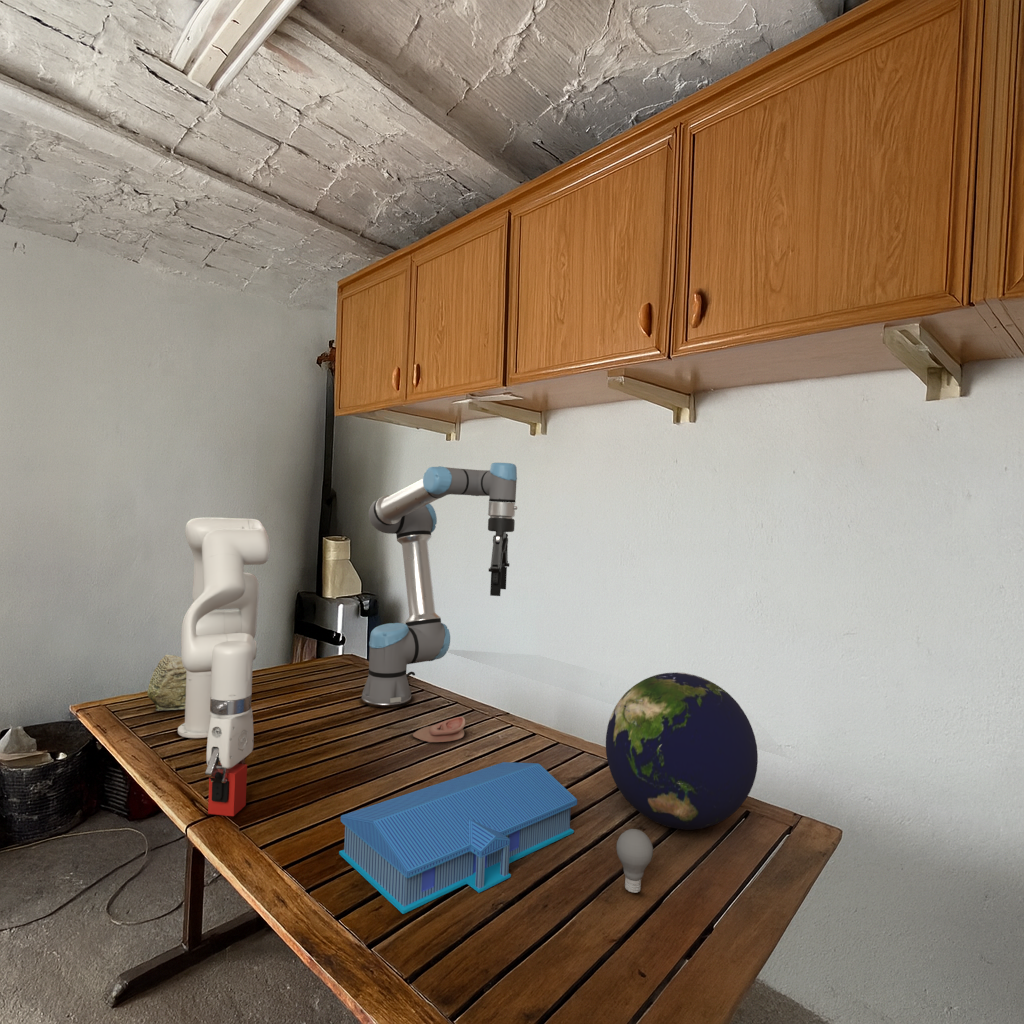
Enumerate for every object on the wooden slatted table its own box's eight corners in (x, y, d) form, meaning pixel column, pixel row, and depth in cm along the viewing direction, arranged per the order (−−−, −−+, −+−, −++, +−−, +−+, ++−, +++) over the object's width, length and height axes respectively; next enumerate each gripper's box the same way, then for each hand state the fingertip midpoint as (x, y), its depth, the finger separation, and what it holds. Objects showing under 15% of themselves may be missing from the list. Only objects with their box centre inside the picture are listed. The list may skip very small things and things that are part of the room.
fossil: (144, 707, 182) (145, 655, 182) (212, 696, 194) (213, 647, 194) (151, 716, 175) (153, 662, 175) (221, 703, 188) (223, 653, 188)
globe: (585, 837, 122) (592, 682, 121) (619, 777, 149) (625, 650, 149) (751, 879, 110) (760, 708, 110) (755, 805, 138) (762, 668, 138)
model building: (414, 925, 95) (417, 859, 95) (337, 852, 113) (340, 797, 113) (586, 839, 121) (589, 787, 121) (502, 791, 139) (504, 746, 139)
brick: (207, 813, 125) (209, 771, 125) (221, 802, 129) (222, 761, 129) (233, 816, 124) (235, 773, 124) (245, 805, 129) (247, 764, 129)
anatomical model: (408, 724, 167) (423, 710, 178) (408, 739, 167) (423, 724, 178) (457, 730, 164) (469, 716, 175) (456, 745, 164) (468, 730, 175)
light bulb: (610, 879, 108) (613, 822, 108) (644, 879, 109) (647, 822, 109) (619, 902, 102) (622, 840, 102) (655, 901, 103) (658, 840, 103)
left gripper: (225, 720, 118) (221, 817, 118) (269, 693, 134) (266, 778, 135) (187, 717, 118) (183, 813, 119) (235, 690, 135) (232, 774, 136)
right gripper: (510, 519, 166) (506, 599, 167) (518, 517, 191) (515, 587, 192) (481, 517, 167) (478, 597, 168) (494, 516, 192) (491, 585, 192)
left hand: (227, 793), depth 127 cm, fingers closed on brick, 4 cm apart
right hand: (498, 592), depth 180 cm, fingers open, 13 cm apart
